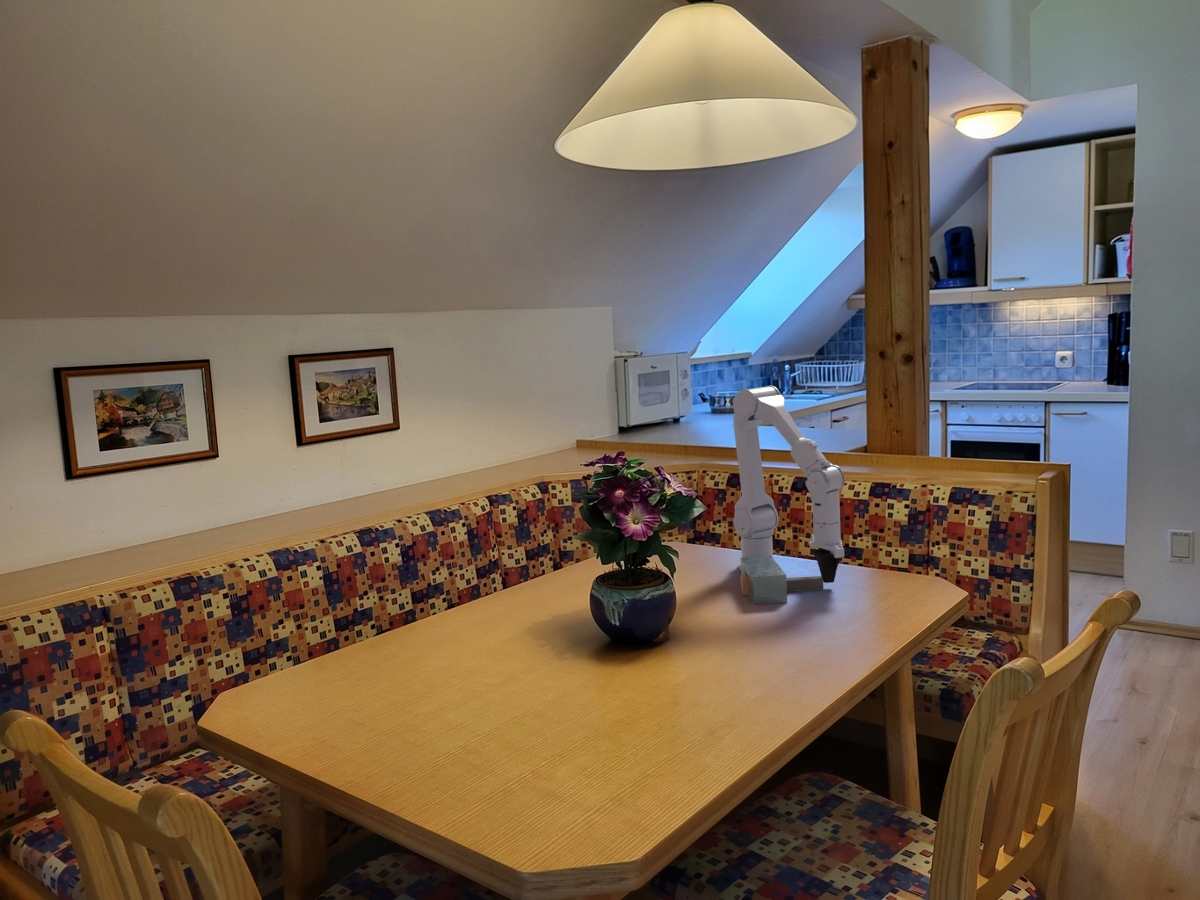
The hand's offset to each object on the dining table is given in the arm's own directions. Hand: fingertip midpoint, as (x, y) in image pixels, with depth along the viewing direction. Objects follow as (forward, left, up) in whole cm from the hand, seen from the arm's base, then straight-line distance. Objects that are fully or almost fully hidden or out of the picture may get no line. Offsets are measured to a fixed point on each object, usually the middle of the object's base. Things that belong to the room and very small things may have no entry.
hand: (828, 581), depth 203 cm
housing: (0, -14, -1) cm, 14 cm away
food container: (+23, -42, -2) cm, 48 cm away
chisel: (0, -10, -1) cm, 10 cm away
